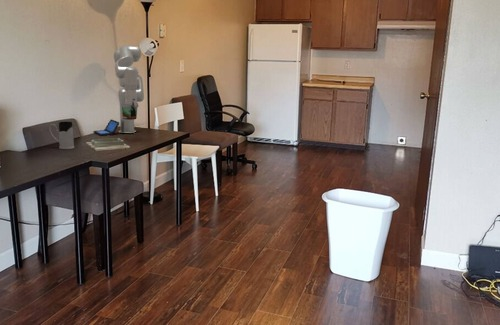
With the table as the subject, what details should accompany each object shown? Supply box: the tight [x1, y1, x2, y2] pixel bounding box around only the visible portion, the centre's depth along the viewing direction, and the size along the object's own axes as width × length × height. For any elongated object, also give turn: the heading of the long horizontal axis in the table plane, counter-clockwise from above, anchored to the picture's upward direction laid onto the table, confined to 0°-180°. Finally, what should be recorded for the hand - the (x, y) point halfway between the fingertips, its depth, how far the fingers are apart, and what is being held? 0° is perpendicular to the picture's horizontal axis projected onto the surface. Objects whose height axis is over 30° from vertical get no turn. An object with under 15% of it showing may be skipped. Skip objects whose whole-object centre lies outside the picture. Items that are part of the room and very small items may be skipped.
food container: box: [121, 102, 139, 121], centre depth 296 cm, size 12×6×10 cm, turn 142°
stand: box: [85, 137, 131, 152], centre depth 282 cm, size 22×20×4 cm
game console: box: [93, 118, 120, 137], centre depth 321 cm, size 16×14×9 cm
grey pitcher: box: [49, 121, 75, 150], centre depth 273 cm, size 9×14×15 cm, turn 86°
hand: (131, 115), depth 297 cm, fingers closed on food container, 5 cm apart
